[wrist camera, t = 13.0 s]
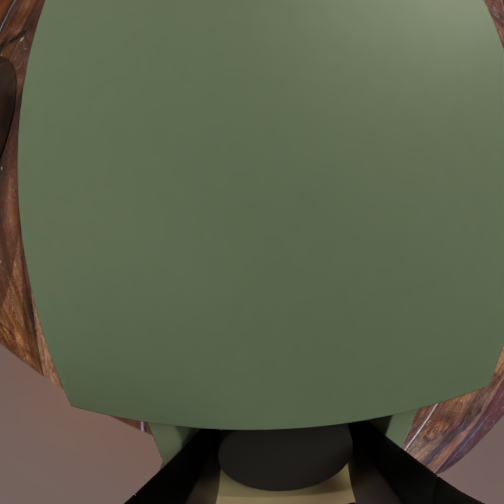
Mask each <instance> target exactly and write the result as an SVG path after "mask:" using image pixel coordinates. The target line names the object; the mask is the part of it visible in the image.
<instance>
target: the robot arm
mask: <svg viewBox="0 0 504 504" xmlns="http://www.w3.org/2000/svg"><path fill="white" fill-rule="evenodd" d="M347 424H348V427H349V430H350V434H351V437H352V440H353V453H352V456H351V458H350V460H349V462H348V470H349V477H350V483H351V487H352V491H353V494H354V498H355V502H352V503H347V504H484V503H482V502H480V501H478V500H476V499H474V498H472V497H470V496H468V495H466V494H465V493H463V492H461V491H459V490H457V489H456V488H455V487H453V486H452V485H450V484H449V483H447V482H446V481H444V480H443V479H442V478H440V477H437V475H436V474H435V473H433V472H432V471H431V470H429V469H428V468H427V467H425V466H424V465H423V464H421V463H420V462H419V461H417V460H416V459H415V458H414V457H412V456H411V455H410V454H408V453H407V452H406V451H405V450H403V449H402V448H401V447H399V446H398V445H397V444H396V443H394V442H393V441H392V440H391V439H389V438H388V437H387V436H386V435H384V434H383V433H382V432H381V431H380V430H378V429H377V428H376V427H375V426H373V425H372V424H371V423H370V422H369V421H367V420H363V421H357V422H350V423H347ZM220 435H221V433H220V429H206V428H201V429H200V430H199V431H198V432H197V433H196V434H195V435H194V436H193V437H192V438H191V439H190V440H189V441H188V442H187V443H186V445H185V446H184V447H183V448H182V449H181V450H180V451H179V452H178V453H177V454H176V455H175V456H174V457H173V458H172V459H171V460H170V461H169V462H168V463H167V464H166V465H165V466H164V467H163V468H162V469H161V470H160V471H159V472H158V473H157V474H156V475H155V476H154V477H152V478H151V479H150V480H149V481H148V482H147V483H146V484H145V485H144V486H143V487H142V488H141V489H140V490H139V491H138V492H137V493H136V494H135V495H136V496H135V495H133V496H132V497H131V498H130V499H129V500H128V501H126V502H125V503H124V504H216V500H217V496H218V491H219V484H220V471H221V467H220V465H219V462H218V458H217V452H218V446H219V441H220Z"/></svg>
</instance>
